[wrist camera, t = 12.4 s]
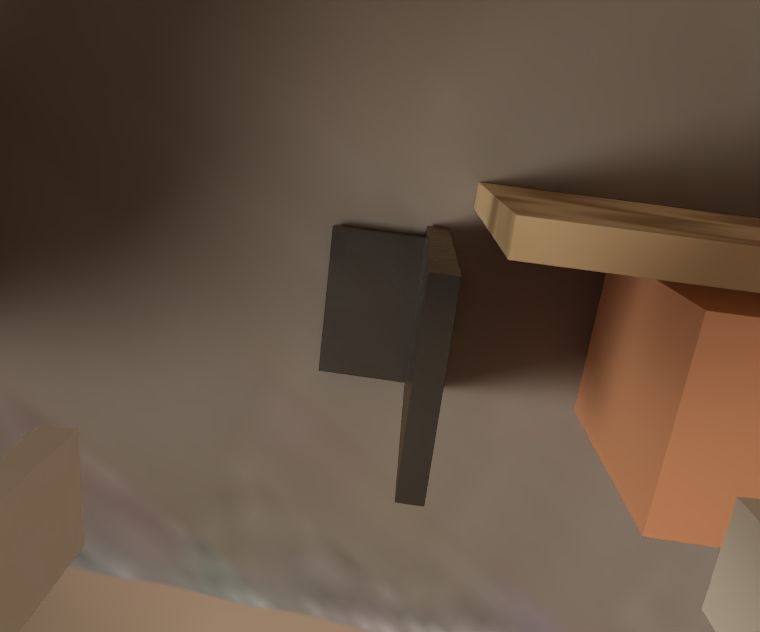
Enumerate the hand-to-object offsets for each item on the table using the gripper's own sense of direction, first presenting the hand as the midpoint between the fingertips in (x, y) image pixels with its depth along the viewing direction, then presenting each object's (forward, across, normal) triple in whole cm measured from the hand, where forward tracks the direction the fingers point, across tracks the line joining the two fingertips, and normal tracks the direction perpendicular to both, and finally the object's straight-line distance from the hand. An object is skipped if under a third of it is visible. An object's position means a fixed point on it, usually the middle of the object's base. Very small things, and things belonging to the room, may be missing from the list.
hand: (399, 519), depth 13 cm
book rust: (+17, +11, -1) cm, 21 cm away
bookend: (+18, -1, -1) cm, 18 cm away
